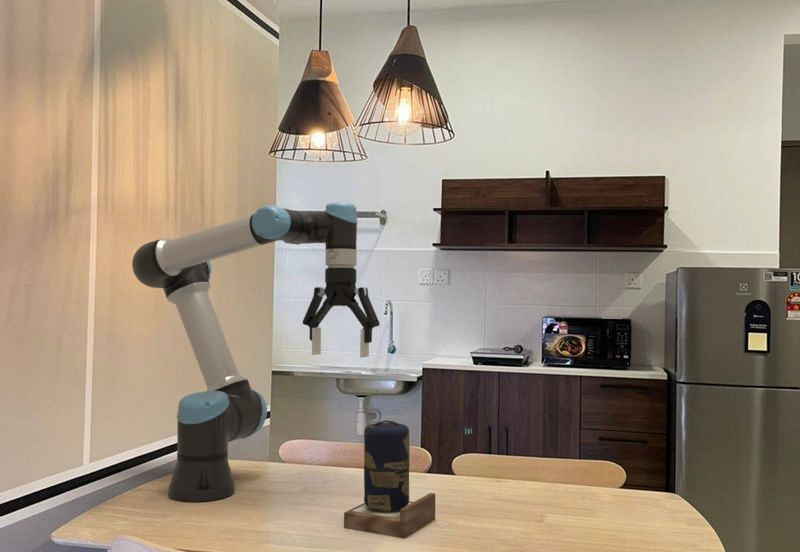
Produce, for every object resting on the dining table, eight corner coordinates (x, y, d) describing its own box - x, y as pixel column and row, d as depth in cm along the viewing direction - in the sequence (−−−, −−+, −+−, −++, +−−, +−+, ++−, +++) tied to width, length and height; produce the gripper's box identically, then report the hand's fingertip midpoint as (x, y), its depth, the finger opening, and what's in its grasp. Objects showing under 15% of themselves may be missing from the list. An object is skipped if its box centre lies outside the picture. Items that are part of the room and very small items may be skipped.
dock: (343, 527, 150) (344, 500, 150) (377, 510, 163) (377, 485, 163) (405, 538, 144) (405, 510, 144) (435, 519, 156) (435, 493, 156)
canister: (404, 515, 148) (404, 425, 149) (358, 512, 150) (359, 423, 151) (412, 502, 158) (413, 417, 158) (369, 499, 159) (370, 415, 160)
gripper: (289, 267, 181) (288, 354, 180) (378, 266, 169) (377, 359, 169) (306, 268, 187) (305, 352, 187) (393, 267, 176) (393, 356, 175)
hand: (339, 355), depth 178 cm, fingers open, 13 cm apart
